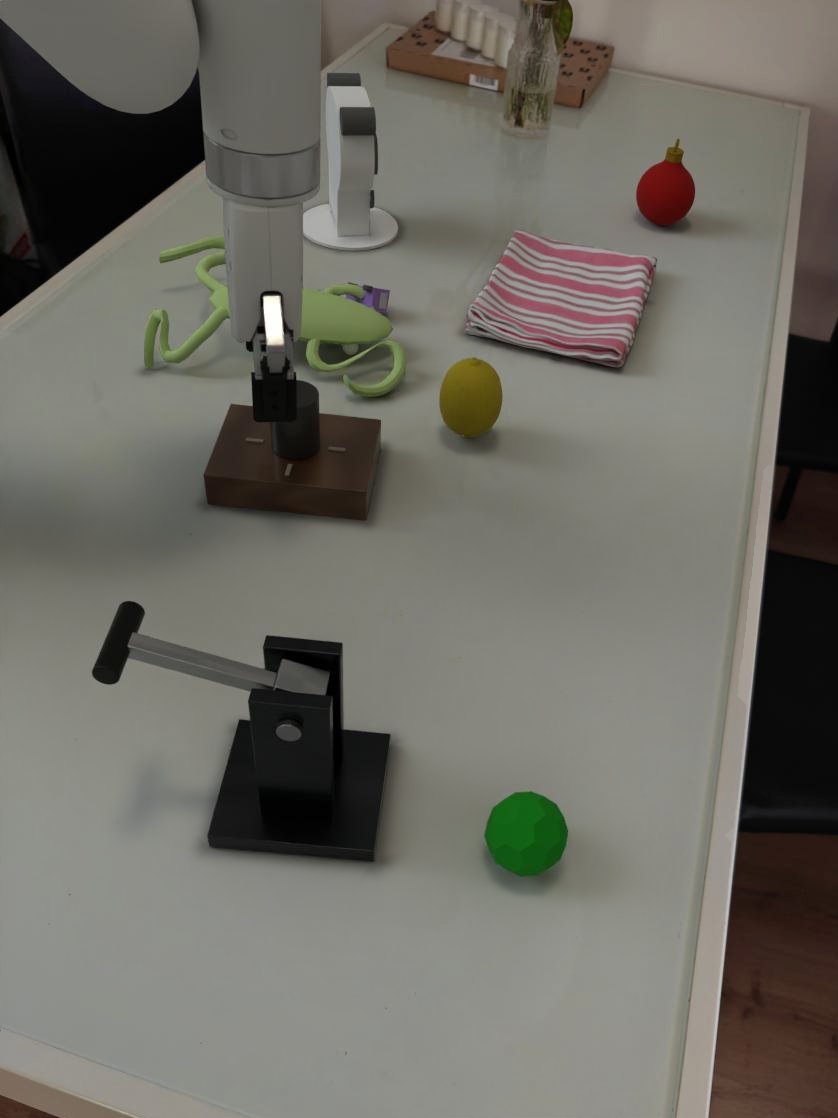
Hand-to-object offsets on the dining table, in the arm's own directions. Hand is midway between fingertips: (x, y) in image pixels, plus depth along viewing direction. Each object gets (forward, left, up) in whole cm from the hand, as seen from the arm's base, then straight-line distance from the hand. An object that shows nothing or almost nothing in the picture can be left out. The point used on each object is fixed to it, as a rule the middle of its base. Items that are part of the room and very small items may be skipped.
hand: (270, 383), depth 80 cm
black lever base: (+8, -32, -9) cm, 34 cm away
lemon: (+16, +8, -9) cm, 20 cm away
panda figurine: (0, +46, -9) cm, 47 cm away
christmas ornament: (+37, +57, -9) cm, 69 cm away
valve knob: (+2, 0, -6) cm, 6 cm away
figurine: (-4, +21, -9) cm, 24 cm away
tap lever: (+3, -32, +1) cm, 32 cm away
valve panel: (+2, 0, -9) cm, 9 cm away
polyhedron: (+22, -35, -9) cm, 42 cm away
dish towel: (+25, +34, -9) cm, 43 cm away
